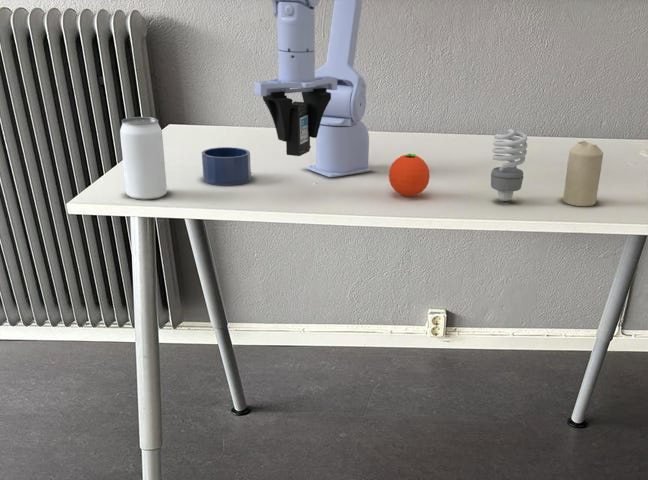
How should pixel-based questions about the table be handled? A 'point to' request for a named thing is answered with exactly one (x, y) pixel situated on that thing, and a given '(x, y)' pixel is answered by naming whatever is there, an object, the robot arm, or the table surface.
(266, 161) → the table surface
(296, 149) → the ink cartridge
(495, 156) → the light bulb
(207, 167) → the cup
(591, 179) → the candle
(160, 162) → the can
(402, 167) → the clementine
